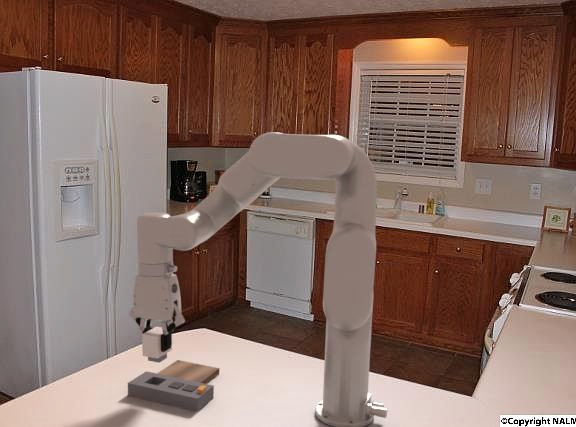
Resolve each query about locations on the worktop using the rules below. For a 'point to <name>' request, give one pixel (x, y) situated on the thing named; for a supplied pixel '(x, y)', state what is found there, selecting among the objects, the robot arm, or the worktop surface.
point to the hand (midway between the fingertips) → (157, 347)
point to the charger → (153, 345)
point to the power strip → (171, 391)
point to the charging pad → (191, 371)
